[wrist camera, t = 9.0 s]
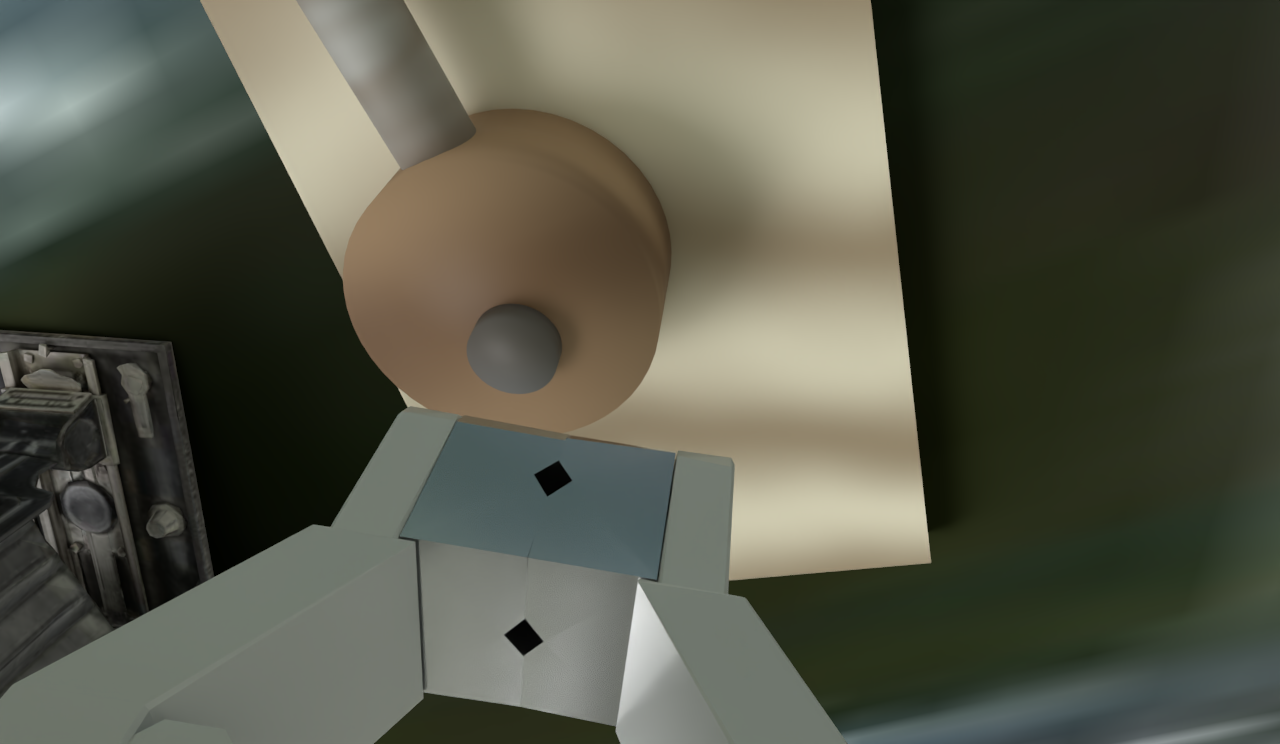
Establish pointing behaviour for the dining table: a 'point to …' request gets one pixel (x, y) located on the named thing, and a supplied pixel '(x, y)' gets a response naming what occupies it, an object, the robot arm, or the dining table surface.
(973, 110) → the dining table surface
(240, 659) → the robot arm
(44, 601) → the camera
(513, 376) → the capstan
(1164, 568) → the dining table surface
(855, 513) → the board
